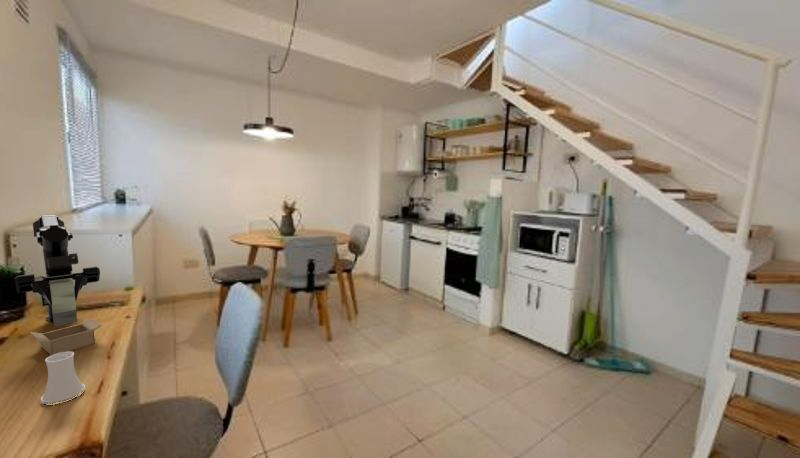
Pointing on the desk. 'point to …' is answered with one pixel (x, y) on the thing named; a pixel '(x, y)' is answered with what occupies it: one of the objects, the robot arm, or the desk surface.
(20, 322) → the desk surface
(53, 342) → the carton
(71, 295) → the box
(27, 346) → the desk surface
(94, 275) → the robot arm
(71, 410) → the desk surface
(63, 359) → the vase
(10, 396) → the desk surface
